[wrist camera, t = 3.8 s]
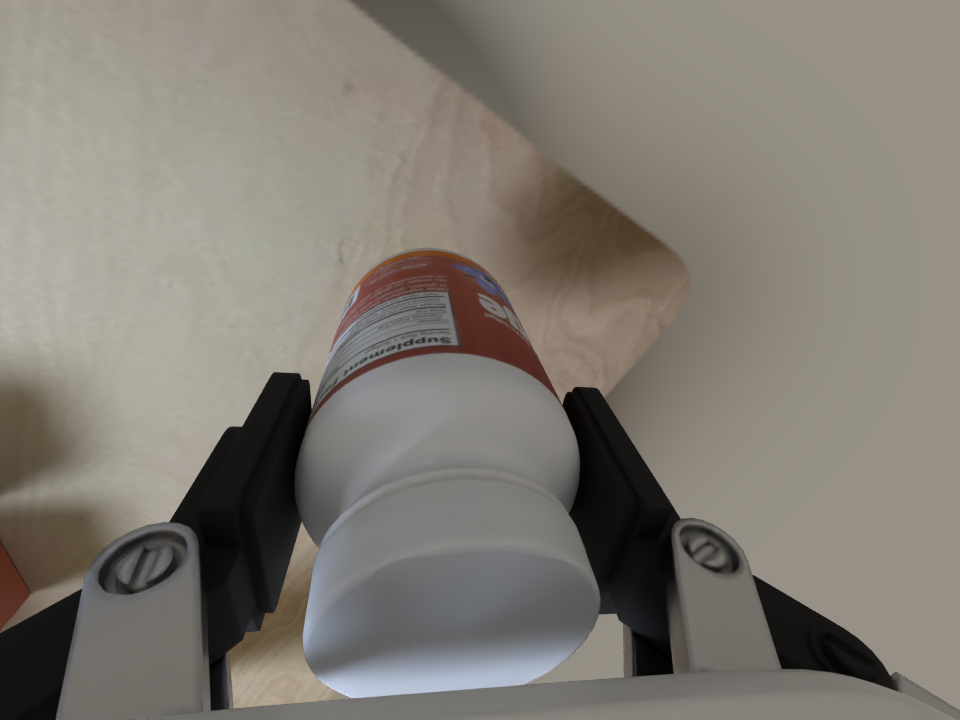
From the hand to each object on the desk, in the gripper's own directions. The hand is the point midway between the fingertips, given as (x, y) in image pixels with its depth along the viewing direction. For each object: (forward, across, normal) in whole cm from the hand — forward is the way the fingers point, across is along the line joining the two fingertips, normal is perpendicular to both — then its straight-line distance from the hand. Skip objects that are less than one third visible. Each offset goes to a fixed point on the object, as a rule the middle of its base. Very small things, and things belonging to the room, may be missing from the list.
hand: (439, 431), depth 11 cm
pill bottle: (+6, 0, 0) cm, 6 cm away
